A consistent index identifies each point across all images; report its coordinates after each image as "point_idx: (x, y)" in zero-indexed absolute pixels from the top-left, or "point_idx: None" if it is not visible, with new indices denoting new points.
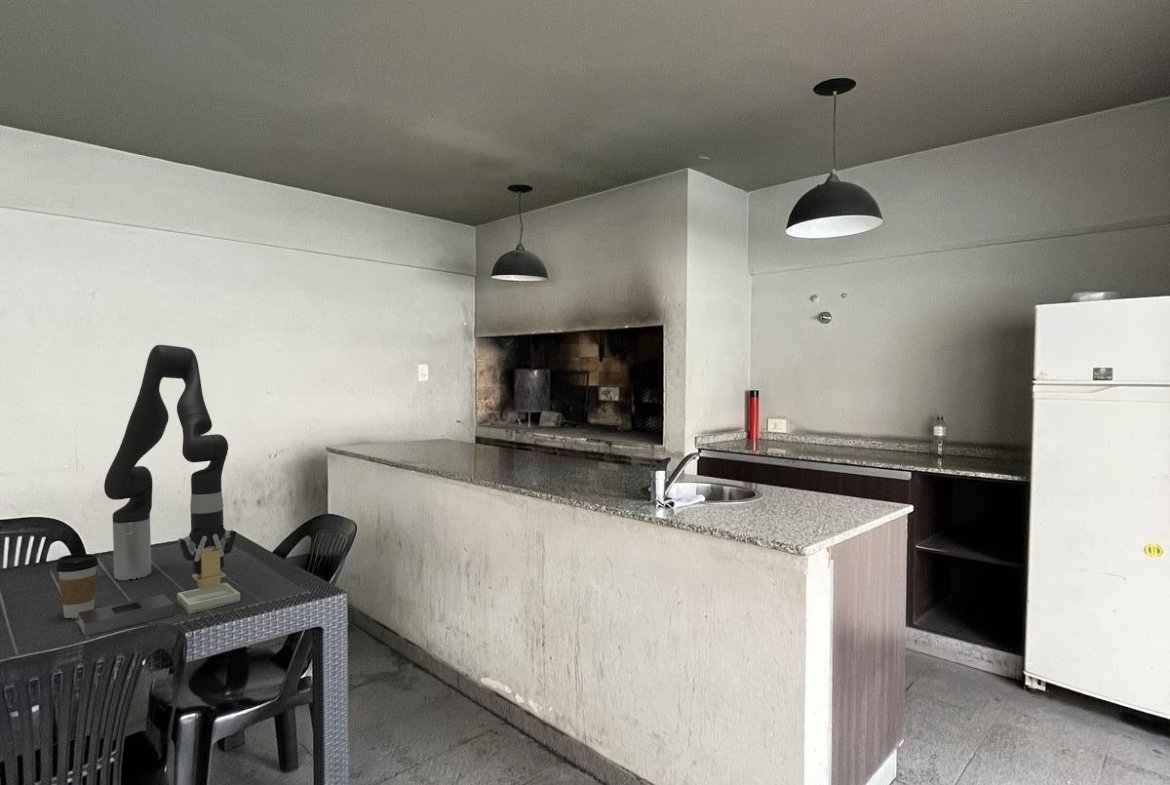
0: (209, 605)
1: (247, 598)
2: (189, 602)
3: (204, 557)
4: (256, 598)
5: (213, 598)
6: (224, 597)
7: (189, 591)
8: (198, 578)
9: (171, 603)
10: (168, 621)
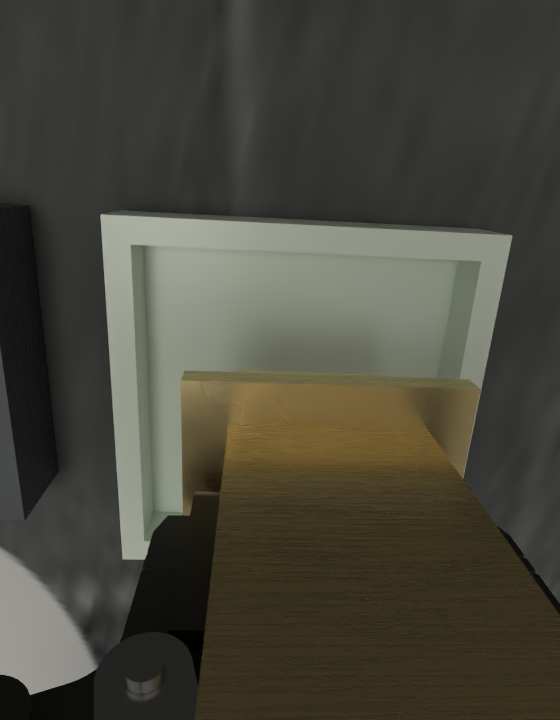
0: None
1: (487, 481)
2: (134, 517)
3: None
4: (519, 517)
5: None
6: None
7: (197, 246)
8: None
9: (13, 503)
10: (20, 542)
